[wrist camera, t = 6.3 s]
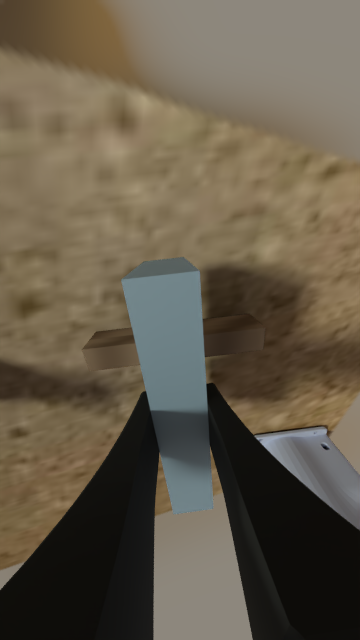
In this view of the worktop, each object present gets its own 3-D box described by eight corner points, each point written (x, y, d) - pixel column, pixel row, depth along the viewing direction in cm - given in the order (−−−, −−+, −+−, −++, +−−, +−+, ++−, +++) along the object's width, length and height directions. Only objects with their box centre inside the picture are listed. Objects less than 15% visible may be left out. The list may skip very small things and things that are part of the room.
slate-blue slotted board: (183, 257, 11) (199, 271, 6) (197, 420, 17) (213, 508, 11) (143, 261, 11) (121, 279, 6) (171, 423, 17) (173, 514, 11)
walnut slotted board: (249, 313, 17) (265, 327, 14) (248, 333, 18) (263, 349, 15) (96, 332, 17) (81, 349, 14) (101, 350, 17) (89, 371, 15)
